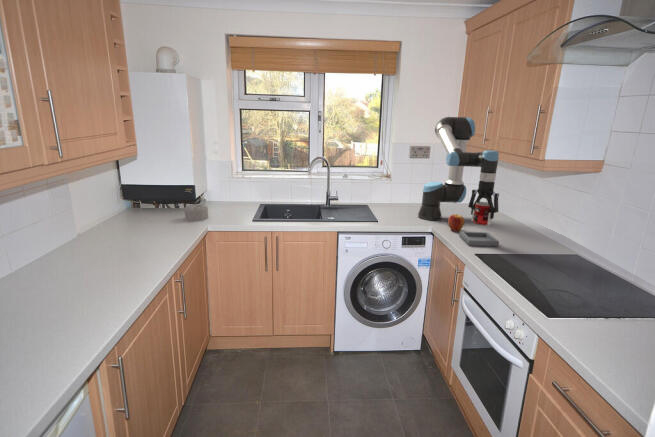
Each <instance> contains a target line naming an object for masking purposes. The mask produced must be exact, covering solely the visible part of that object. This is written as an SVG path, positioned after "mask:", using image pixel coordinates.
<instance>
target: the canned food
mask: <svg viewBox="0 0 655 437" xmlns="http://www.w3.org/2000/svg"><path fill="white" fill-rule="evenodd" d="M489 207H490V205H488V201H480V202H478V203H477V202H476V205H475V212H474V219H473V221H472V222H473V223H474V224H476V225H481V226H488V225H487V222H488V216H489V213H490V208H489Z"/></svg>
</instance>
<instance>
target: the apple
mask: <svg viewBox="0 0 655 437" xmlns="http://www.w3.org/2000/svg"><path fill="white" fill-rule="evenodd" d="M447 224H448V227H449V228H450V230H452V231H454V232H460V231H462V229H463V227H464V226H465V218H464V217H463V215H459V214H458V213H457V214H454V213H453V214H451V215H449V217H448V220H447Z"/></svg>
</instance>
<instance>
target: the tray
mask: <svg viewBox="0 0 655 437" xmlns="http://www.w3.org/2000/svg"><path fill="white" fill-rule="evenodd" d="M459 238H460V239H461V240H462V241H463V242H465V244H466V245H467V246H469V247H492V248H498V247H499V246H500V244H499V243H500V241H499V240H498V239H496V238H495V237H494V235H492V234H490V232H488V231H463V230H460V231H459Z"/></svg>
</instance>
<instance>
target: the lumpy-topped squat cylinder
mask: <svg viewBox="0 0 655 437" xmlns="http://www.w3.org/2000/svg"><path fill="white" fill-rule="evenodd" d="M208 208H209V207H208V206H207V205H203V204H196V203H193V204H191V205H187V206H185V207H184V217H185V221H186V222H188V223H194V222H203V221H206V220H208V219H209V210H208Z"/></svg>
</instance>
